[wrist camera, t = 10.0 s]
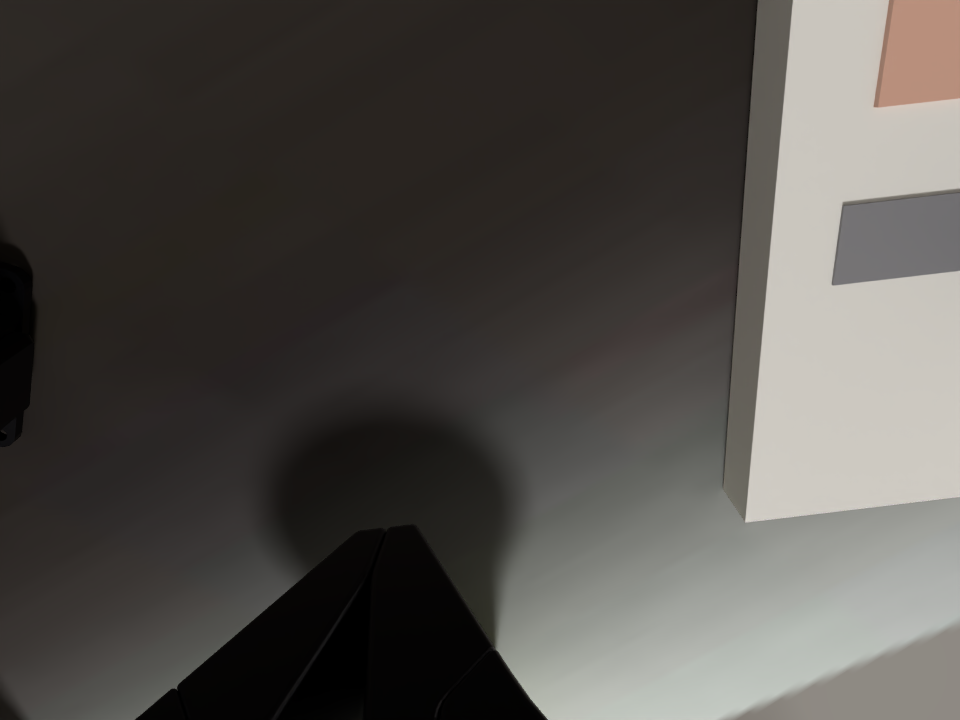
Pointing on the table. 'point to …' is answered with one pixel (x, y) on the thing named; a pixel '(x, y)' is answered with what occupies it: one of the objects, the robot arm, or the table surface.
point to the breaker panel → (848, 261)
